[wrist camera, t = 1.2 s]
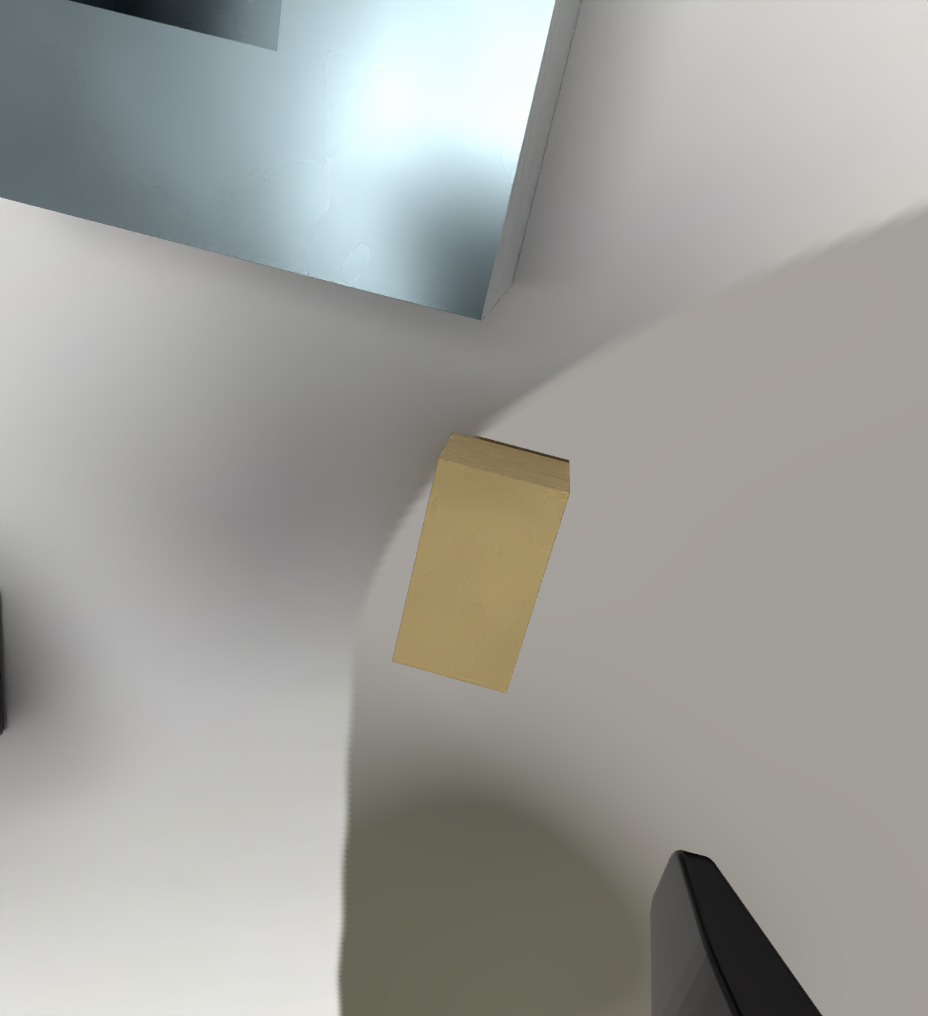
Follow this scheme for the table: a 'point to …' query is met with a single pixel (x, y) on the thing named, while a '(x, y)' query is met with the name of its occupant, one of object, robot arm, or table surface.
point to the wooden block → (481, 559)
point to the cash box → (294, 130)
